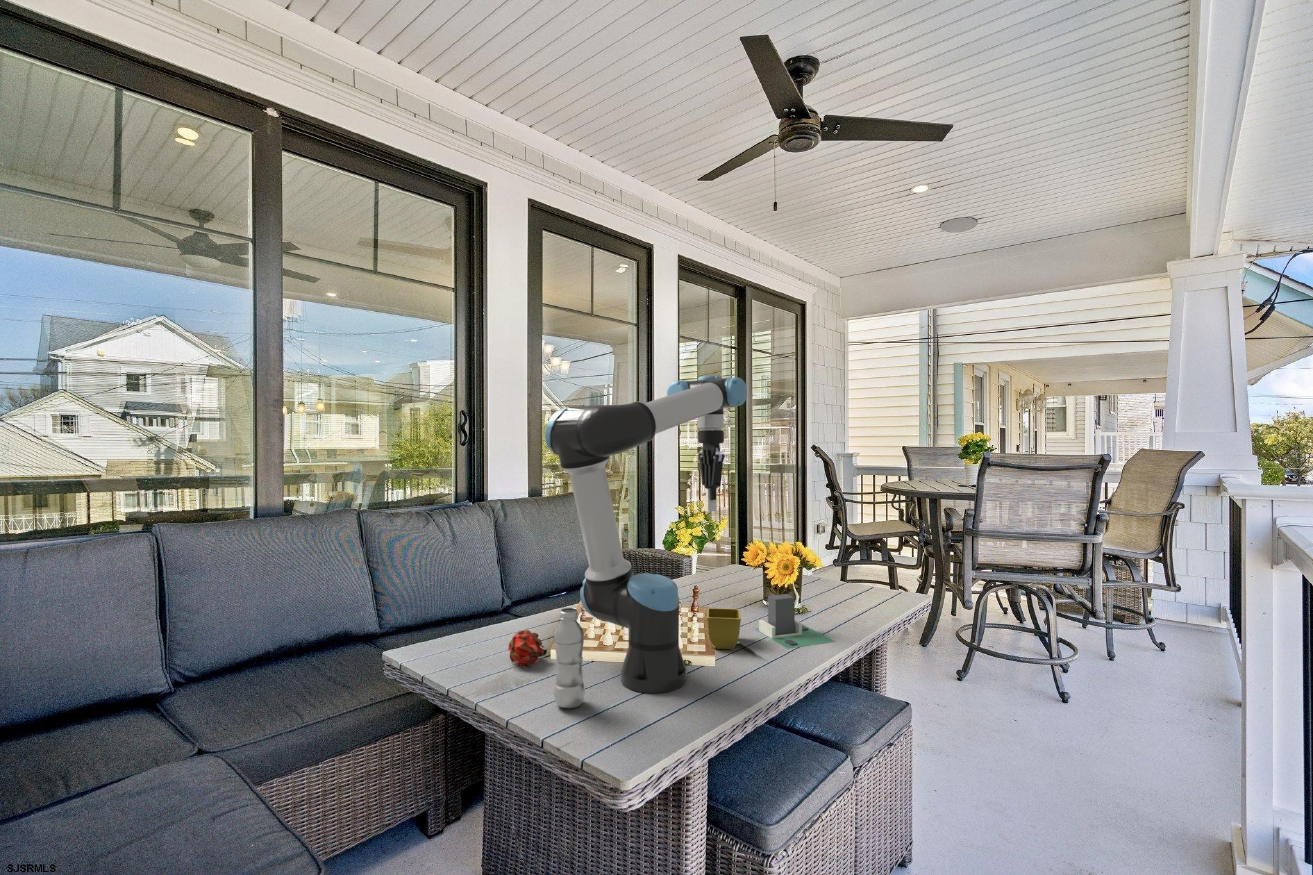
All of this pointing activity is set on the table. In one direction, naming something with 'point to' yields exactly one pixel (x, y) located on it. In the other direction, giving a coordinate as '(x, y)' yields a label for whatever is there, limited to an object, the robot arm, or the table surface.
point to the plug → (781, 613)
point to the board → (794, 635)
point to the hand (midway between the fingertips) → (711, 510)
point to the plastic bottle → (569, 660)
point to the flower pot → (723, 627)
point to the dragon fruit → (526, 648)
